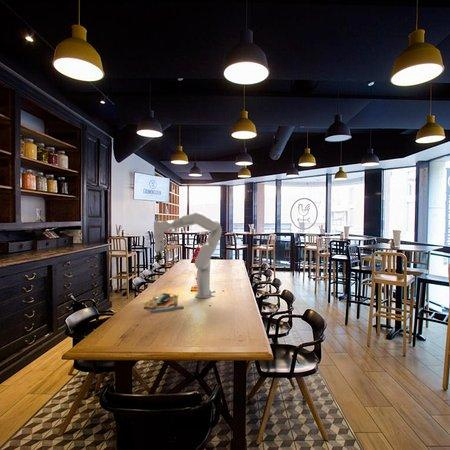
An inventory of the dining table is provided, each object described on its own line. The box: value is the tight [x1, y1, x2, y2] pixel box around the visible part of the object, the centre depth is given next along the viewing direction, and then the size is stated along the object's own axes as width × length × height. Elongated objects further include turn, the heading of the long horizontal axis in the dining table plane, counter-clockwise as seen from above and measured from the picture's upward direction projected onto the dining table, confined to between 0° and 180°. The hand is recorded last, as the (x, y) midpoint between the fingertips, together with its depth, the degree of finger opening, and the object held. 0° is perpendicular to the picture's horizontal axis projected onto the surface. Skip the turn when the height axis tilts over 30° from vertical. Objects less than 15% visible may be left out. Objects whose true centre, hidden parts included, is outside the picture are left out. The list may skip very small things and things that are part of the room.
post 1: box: [151, 296, 158, 309], centre depth 202 cm, size 4×4×9 cm
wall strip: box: [149, 304, 185, 314], centre depth 203 cm, size 22×3×2 cm, turn 118°
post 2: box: [172, 293, 180, 306], centre depth 209 cm, size 4×4×9 cm
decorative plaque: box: [143, 292, 174, 310], centre depth 219 cm, size 30×7×20 cm
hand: (159, 260), depth 243 cm, fingers closed
